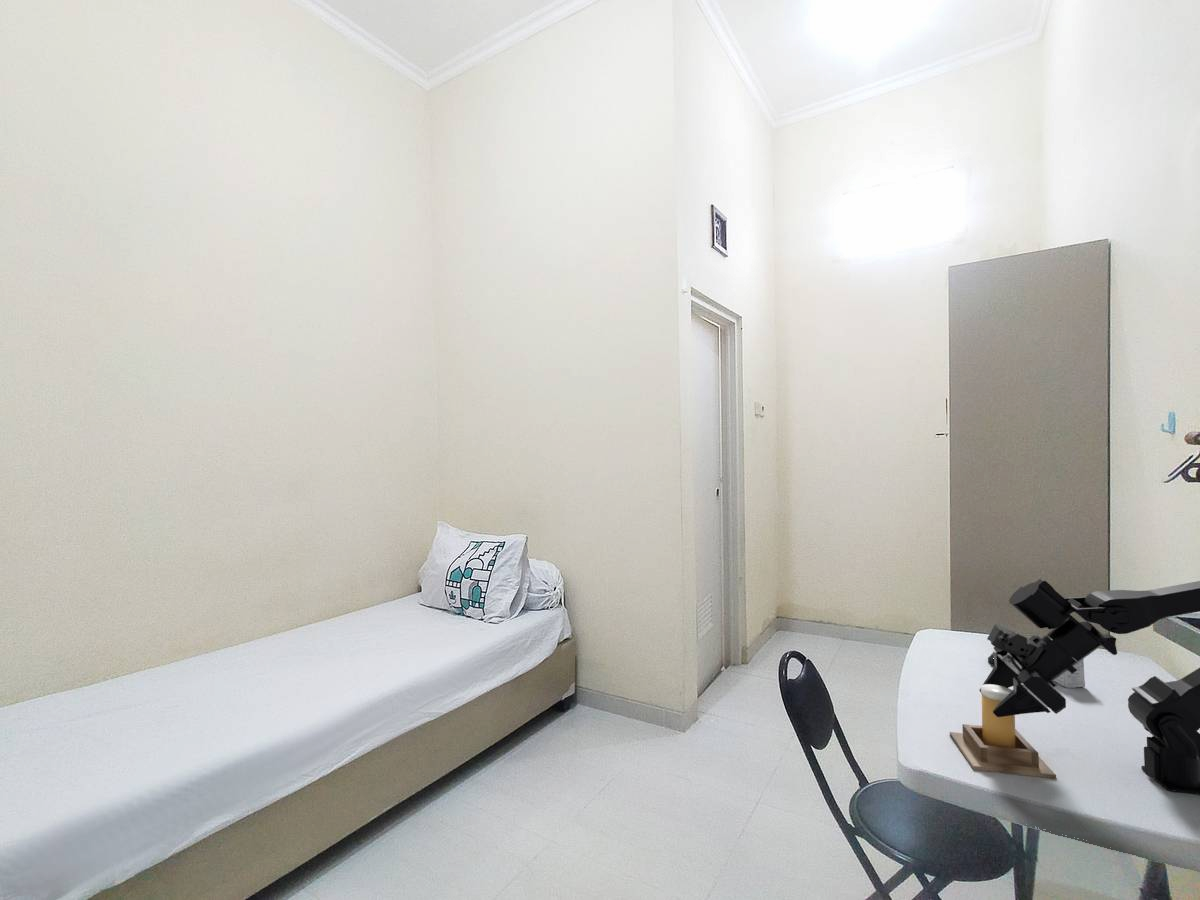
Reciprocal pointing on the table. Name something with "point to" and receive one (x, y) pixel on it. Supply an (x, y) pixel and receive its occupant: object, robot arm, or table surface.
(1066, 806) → the table surface
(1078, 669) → the medicine box
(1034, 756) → the bottle holder
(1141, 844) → the table surface
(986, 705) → the pill bottle
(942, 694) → the table surface
